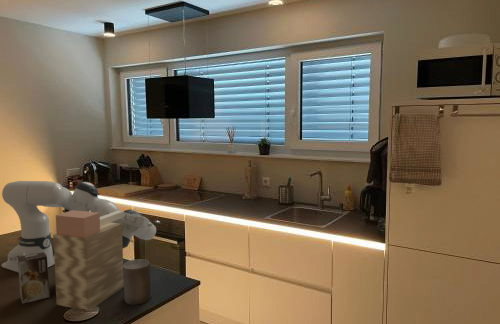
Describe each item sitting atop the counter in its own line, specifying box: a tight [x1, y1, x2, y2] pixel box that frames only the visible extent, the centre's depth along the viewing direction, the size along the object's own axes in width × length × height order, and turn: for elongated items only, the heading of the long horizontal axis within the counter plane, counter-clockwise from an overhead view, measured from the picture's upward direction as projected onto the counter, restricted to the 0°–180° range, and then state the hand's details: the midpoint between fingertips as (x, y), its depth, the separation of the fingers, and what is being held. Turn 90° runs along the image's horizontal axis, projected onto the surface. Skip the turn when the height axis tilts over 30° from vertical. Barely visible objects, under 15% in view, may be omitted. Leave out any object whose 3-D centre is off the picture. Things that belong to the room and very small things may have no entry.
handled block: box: [55, 210, 125, 238], centre depth 144 cm, size 12×28×7 cm, turn 163°
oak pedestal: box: [52, 223, 124, 311], centre depth 142 cm, size 14×20×26 cm
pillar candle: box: [123, 258, 152, 306], centre depth 140 cm, size 10×10×15 cm
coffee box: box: [18, 252, 51, 305], centre depth 140 cm, size 9×6×16 cm
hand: (116, 215), depth 155 cm, fingers open, 8 cm apart
